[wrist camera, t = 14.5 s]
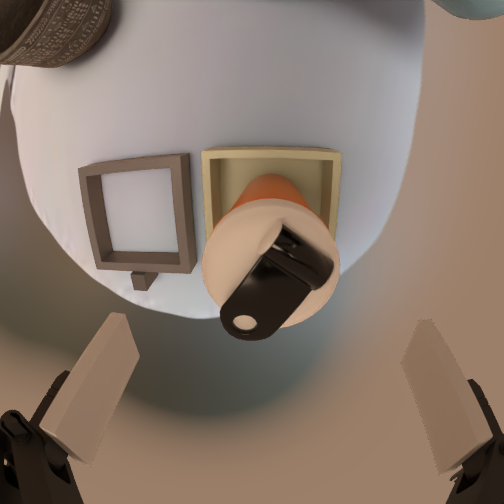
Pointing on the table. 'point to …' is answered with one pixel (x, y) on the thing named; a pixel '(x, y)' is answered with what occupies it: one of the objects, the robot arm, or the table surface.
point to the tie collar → (140, 262)
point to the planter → (50, 30)
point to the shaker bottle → (269, 260)
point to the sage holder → (270, 162)
